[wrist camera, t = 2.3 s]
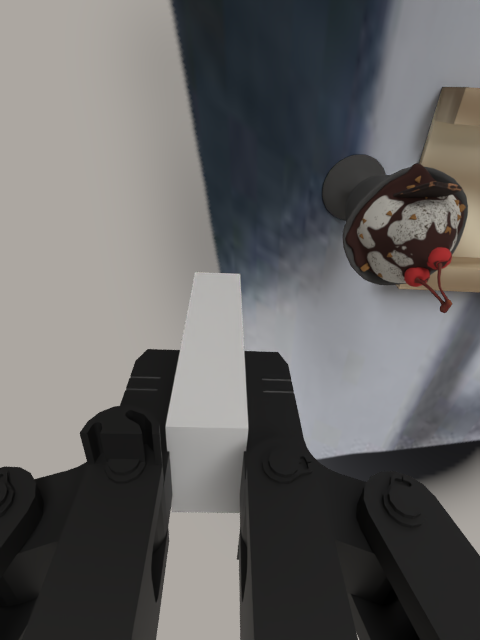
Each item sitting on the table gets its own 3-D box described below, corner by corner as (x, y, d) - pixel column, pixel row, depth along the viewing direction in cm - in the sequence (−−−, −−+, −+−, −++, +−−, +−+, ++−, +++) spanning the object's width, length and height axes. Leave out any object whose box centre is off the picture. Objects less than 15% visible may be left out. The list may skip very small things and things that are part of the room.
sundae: (347, 246, 31) (426, 356, 18) (294, 191, 28) (343, 275, 16) (414, 186, 28) (559, 268, 16) (362, 120, 26) (486, 154, 13)
